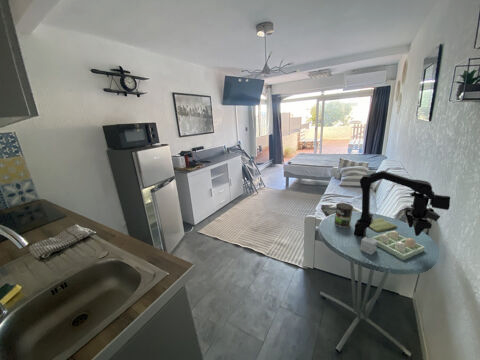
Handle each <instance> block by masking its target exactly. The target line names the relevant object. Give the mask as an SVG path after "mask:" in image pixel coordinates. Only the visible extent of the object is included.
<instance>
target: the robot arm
mask: <svg viewBox="0 0 480 360" xmlns="http://www.w3.org/2000/svg"><path fill="white" fill-rule="evenodd" d="M381 180H385V181H389V182H390V183H391V182H392V183H395V184H397V185H401V186H403V187H406V188H409V189H411V190H412V192H410V193H409V194H410V195H409V196H410V197H413V201H412V204H410V207H404V209H403V212H404V216H405V218H406V221H407V224H408V227H409V228H412V227H413V231H414V235H415V236H416V237H419V236H420V235H421V233H422V232H424V230H426V229H428V230H429V229H432V227H433V223H431V222H430V221H429V220H428V219H430V220H432V221H434V222H437V221H438V220H439V219H440V218H441V215H440V214H438V213H437V212H436V211H435V209H439V210H444V211H448V210H449V209H450V206H451V204H450V203H451V196H450V195H441V194H435V192H434V191H433V187H432V184H431V183H430V182H429V181H426V180H421V179H413V178H408V177H405V176H401V175H398V174H394V173H392V172H388V171H386V170H380V171H378V172H374V173H370V174H363V176H362V177H361V178H360V180H359V185H360V189H361V215H360V218H359V219H357V220H356V222H355V225H354V231H353V232H354V233H353V234H354V236H356V237H357V238H358V237H360V238H365V237H366V234H367V228H368V229H369V227H370V224H372V222H373V220H374V219H373V218H374V214H373V213H372V214H371V212H370V209H371V208H370V206H371V204H370V203H371V189H372V185H373V184H375V183H376V182H378V181H381ZM428 204H429V205H428ZM428 206H431V207H428Z"/></svg>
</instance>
